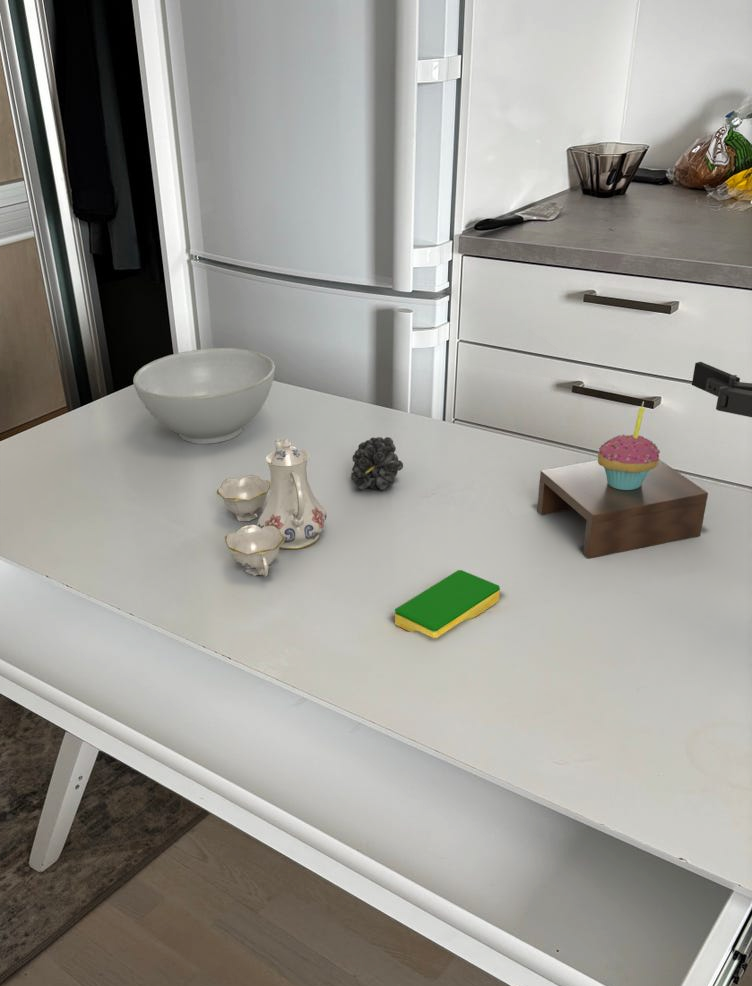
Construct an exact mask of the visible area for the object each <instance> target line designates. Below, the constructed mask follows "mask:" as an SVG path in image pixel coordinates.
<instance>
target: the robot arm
mask: <svg viewBox="0 0 752 986" xmlns="http://www.w3.org/2000/svg"><path fill="white" fill-rule="evenodd" d="M691 386H692V387H695V388H697V389H700V390H702V391H704V392H706V393H709V394H711V395H712V396H715V397H717V401H716V404H715V405H716V406H715V410H716V411H718V412H724V413H728V414H732V415H733V414H734V415H737V416H743V417H746V418H747V417H748V418H752V382H744V381H741V378H740V377H738V375H737V374H731V373H729V372H727V371H724V370H721V369H719V368H717V367H714V366H712V365H710V364H708V363H705V362H703V361H698V362H695V363H694V369H693V375H692V380H691Z"/></svg>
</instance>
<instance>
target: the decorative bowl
mask: <svg viewBox="0 0 752 986" xmlns="http://www.w3.org/2000/svg"><path fill="white" fill-rule="evenodd" d="M275 371H276V365H275V363H274V361H273V360H272V358H270V357H269V356H267V355H266V354H264V353H261V352H259V351H254V350H250V349H244V348H237V347H236V348H235V347H234V348H233V347H212V348H211V347H210V348H199V349H193V350H187V351H181V352H177V353H173V354H169V355H166V356H163V357H160V358H158V359H154V360H153V361H151V362H149V363H147V364H144V365H143V366H141V368H139V369H138V370H137V371H136V373H135V374H134V376H133V380H132V381H133V386H134V390H135V391H136V393H137V395H138V397H139V399H140V400H141V403H142V404H143V406H144V407H145V408H146V410H147V411H148V412H149V413H150V415H151V416H152V417H153V418H154V419H155V420H156V421H157V422H158V423H160V424H161V425H162V426H163V427H165V428H166V429H168V430H170V431H172V432H174V433H176V434H179V437H180V438H181V439H182V440H184V441H185V442H189V443H192V444H197V445H209V444H218V443H222V442H225V441H229V440H232V439H234V438H236V437H238V435H240V434H241V433H242V432H243V428H244V427H245V426H246V425H247V424H249V423H250V422H251V421H253V419H254V418H255V417H256V416H257V415H258V413H259V412H260V410H261V409H262V408H263V406H264V405H265V403H266V400H267V399H268V397H269V393H270V392H271V389H272V386H273V382H274V377H275V373H276V372H275Z"/></svg>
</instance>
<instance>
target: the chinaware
mask: <svg viewBox="0 0 752 986" xmlns="http://www.w3.org/2000/svg"><path fill="white" fill-rule="evenodd" d="M274 446H275V450H273V451H272V452H269V453H268V454H267V455H266V456H265V461H266V463H267V465H268V468H269V473H270V481H269V480H262V478H260V477H259V476H257V475H253V474H250V475H245V476H243V477H241V478H234V477H230V478H226V479H225V480H223V481H222V483H221V485H220V487H219V488H217V490H216V495H218V496H219V497H221V498H222V501H223V503H224V505H225V507H226V508H227V509H228V510H229V511H230V512H231V513H232V514H234V515H235V516H236V519H237V521H239V522H240V521H241V522H250V521H251V522H252V521H254V520H255V519H257V518H258V514H257V513H259V512H260V510H261V513H260V516H259V518H258V519H257V524H246V525H243V526H241V527H239V528H238V530H236V532H231V533H228V534H227V535H226V536H225V538H224V539H225V543H226V546H227V547H228V549H229V551H231V553H232V556H233V558H234V559H235V561H236V562H237V563H238V564H239V565H240V566H242V567H243V568H245V573H248V574H249V575H252V576H254V577H256V576H264V577H267V576H268V575H269V569H270V567H271V565H272V564H273V563H274V562H275V560H276V559H277V557H278V555H279V551H280V550H287V551H288V550H289V551H292V550H293V551H294V550H301V549H304V548H308V547H310V546H312V545H314V544H316V543H317V542H318V541H319V539H320V538H321V533H322V531H323V529H324V525H325V522H326V520H327V512H326V510H325V508H324V507H323V506H322V505H321V503H320V502H319V501H318V500H317V498H316V497H315V495H314V494H313V491H312V489H311V486H310V483H309V480H308V474H307V473H308V472H307V464H308V459H309V458H310V453H309V452H307V451H306V450H304V449H301V448H298V447H296V446H294V445H292V442H290V440H288V439H287V438H286V439H284V440H283V441H282V439H280V438H279V439H275V440H274ZM268 492H269V494H268ZM267 494H268V498H267ZM266 499H267V501H266Z"/></svg>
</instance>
